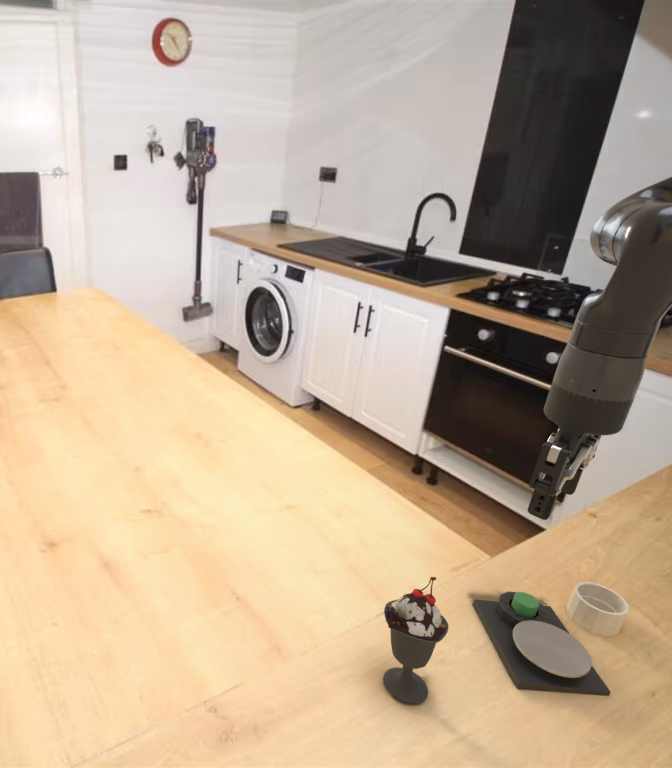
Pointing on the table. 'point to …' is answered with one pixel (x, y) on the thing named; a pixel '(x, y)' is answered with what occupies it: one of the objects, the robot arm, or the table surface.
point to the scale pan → (552, 649)
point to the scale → (520, 669)
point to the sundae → (412, 642)
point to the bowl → (597, 608)
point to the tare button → (525, 604)
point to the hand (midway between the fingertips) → (551, 503)
